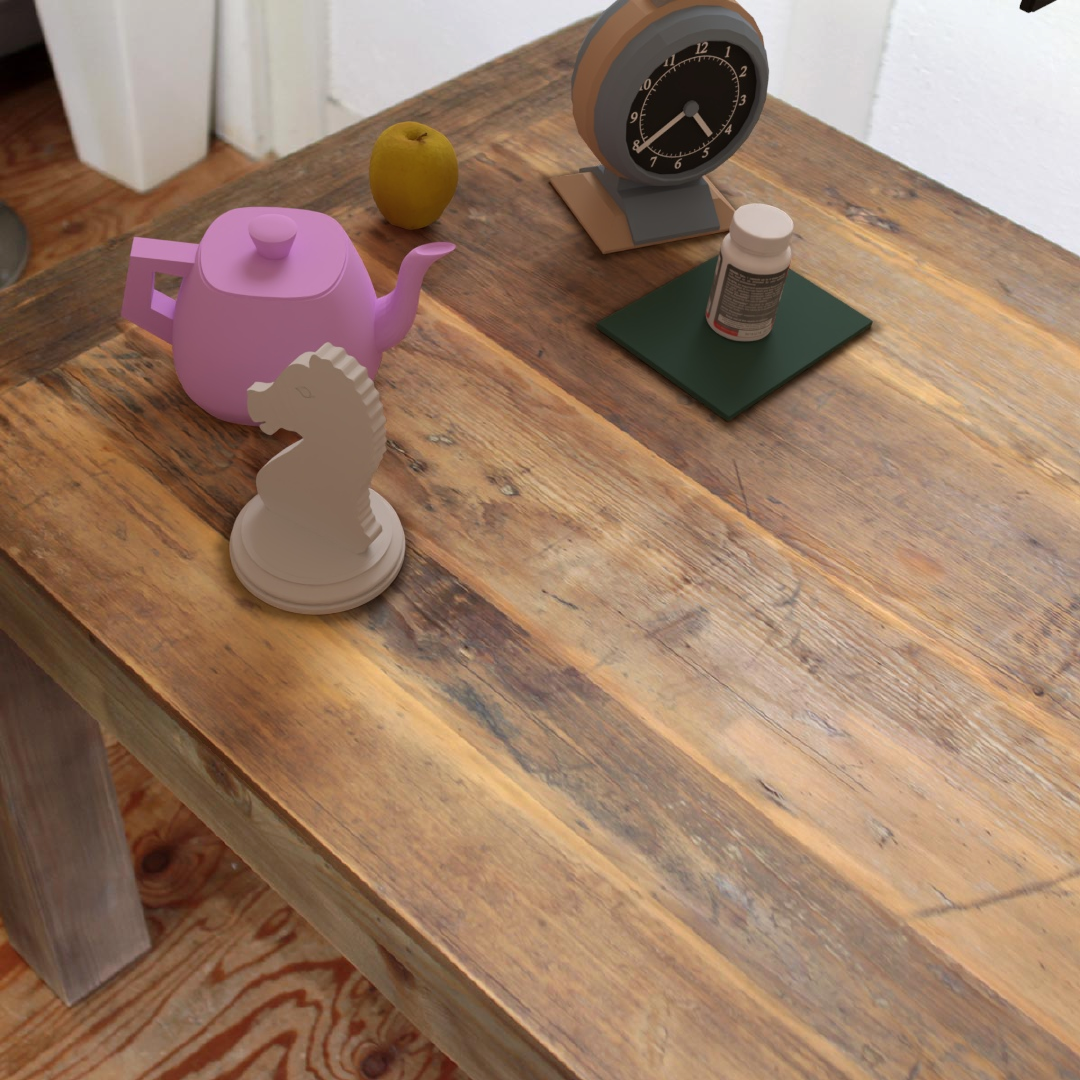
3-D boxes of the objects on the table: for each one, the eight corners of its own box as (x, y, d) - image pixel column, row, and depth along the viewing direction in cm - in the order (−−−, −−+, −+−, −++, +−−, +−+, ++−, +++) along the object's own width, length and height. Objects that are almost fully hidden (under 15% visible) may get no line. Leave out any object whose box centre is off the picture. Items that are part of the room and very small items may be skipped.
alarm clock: (590, 256, 97) (626, 25, 84) (537, 182, 103) (562, -45, 90) (758, 225, 102) (817, 2, 89) (698, 156, 108) (745, -63, 95)
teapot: (446, 451, 82) (455, 308, 74) (113, 436, 80) (84, 287, 72) (448, 314, 91) (456, 172, 83) (148, 297, 89) (127, 151, 81)
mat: (743, 245, 100) (744, 239, 100) (871, 326, 95) (873, 320, 95) (595, 328, 92) (596, 322, 91) (727, 422, 87) (729, 416, 86)
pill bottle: (784, 335, 92) (814, 234, 86) (726, 350, 91) (753, 248, 85) (749, 295, 95) (776, 194, 89) (692, 308, 93) (715, 206, 87)
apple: (438, 255, 95) (444, 157, 90) (354, 233, 96) (354, 134, 90) (466, 207, 100) (473, 111, 94) (386, 187, 100) (387, 90, 95)
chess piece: (298, 463, 80) (288, 258, 69) (437, 531, 78) (450, 329, 67) (193, 565, 74) (164, 358, 63) (340, 643, 72) (336, 442, 61)
